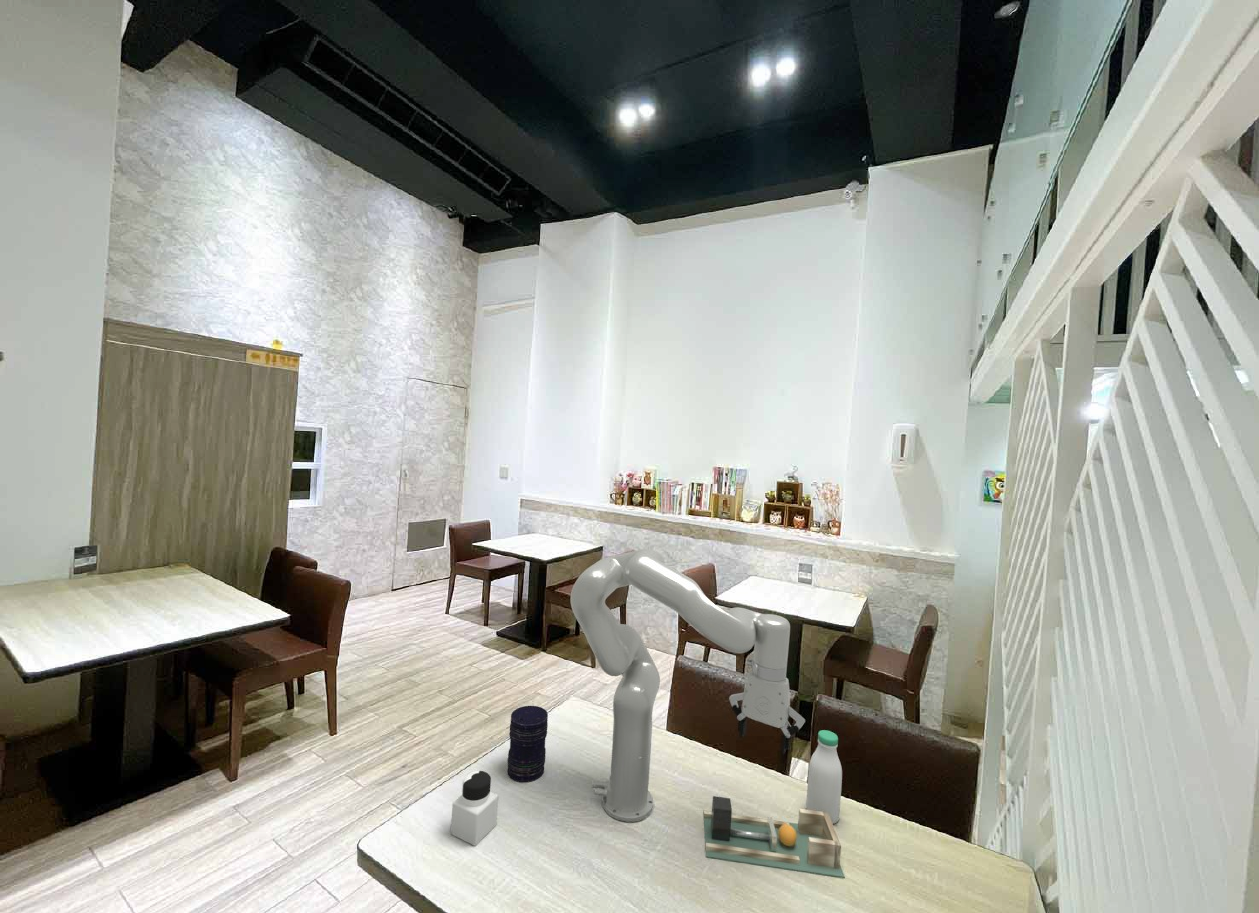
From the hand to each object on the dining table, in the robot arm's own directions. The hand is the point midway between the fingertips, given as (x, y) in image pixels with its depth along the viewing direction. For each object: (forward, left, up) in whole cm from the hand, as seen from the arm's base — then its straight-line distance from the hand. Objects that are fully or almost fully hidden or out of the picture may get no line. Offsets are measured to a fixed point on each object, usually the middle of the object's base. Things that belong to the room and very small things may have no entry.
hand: (762, 743), depth 117 cm
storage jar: (-58, +11, -22) cm, 63 cm away
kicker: (-3, -2, -21) cm, 21 cm away
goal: (+13, -2, -21) cm, 25 cm away
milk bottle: (+18, +10, -22) cm, 29 cm away
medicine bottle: (-63, -11, -22) cm, 68 cm away
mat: (+3, -2, -21) cm, 22 cm away
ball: (+7, -2, -19) cm, 20 cm away
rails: (-2, -2, -21) cm, 21 cm away
